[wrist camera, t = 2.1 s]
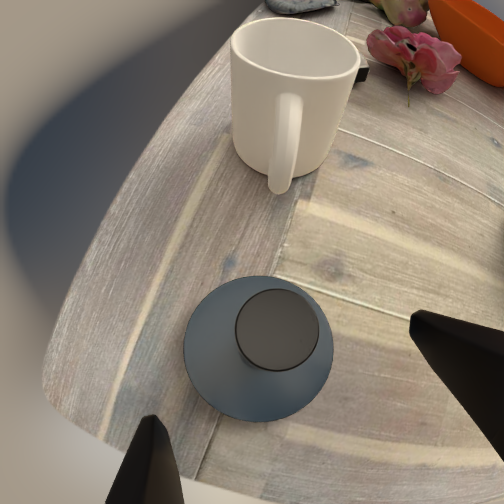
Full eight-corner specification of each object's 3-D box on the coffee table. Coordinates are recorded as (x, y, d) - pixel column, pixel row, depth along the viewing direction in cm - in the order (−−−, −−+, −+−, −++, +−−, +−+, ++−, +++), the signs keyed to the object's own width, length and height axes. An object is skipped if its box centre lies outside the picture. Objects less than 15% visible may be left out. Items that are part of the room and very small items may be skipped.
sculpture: (414, -25, 33) (455, -3, 30) (411, 7, 41) (447, 30, 38) (361, -22, 33) (405, -2, 29) (360, 15, 41) (400, 39, 37)
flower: (371, 70, 36) (414, 27, 29) (421, 120, 34) (467, 75, 27) (339, 45, 27) (392, -11, 21) (404, 103, 25) (465, 44, 19)
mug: (325, 231, 23) (375, 140, 13) (214, 215, 23) (199, 113, 13) (327, 118, 27) (354, 29, 17) (240, 106, 27) (242, 12, 18)
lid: (326, 419, 18) (408, 461, 7) (181, 413, 18) (118, 457, 7) (329, 283, 21) (401, 205, 11) (193, 275, 21) (151, 187, 11)
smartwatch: (331, 70, 30) (339, 43, 26) (346, 69, 30) (354, 43, 27) (349, 89, 29) (359, 62, 25) (364, 87, 29) (374, 61, 26)
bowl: (482, 109, 30) (514, 62, 21) (387, 15, 39) (400, -27, 29) (540, 113, 34) (564, 82, 25) (465, 32, 42) (480, 2, 33)
